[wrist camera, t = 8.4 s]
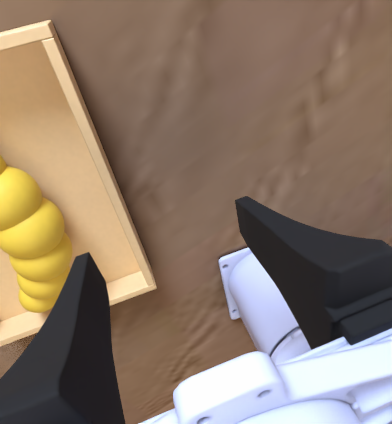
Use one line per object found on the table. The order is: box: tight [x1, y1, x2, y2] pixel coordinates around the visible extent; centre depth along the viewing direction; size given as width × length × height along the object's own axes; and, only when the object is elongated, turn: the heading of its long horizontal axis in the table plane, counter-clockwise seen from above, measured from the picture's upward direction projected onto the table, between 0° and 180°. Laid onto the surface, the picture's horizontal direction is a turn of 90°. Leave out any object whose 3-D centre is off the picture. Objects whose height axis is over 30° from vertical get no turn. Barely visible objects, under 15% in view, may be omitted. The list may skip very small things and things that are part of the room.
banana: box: [0, 155, 73, 313], centre depth 20 cm, size 16×6×4 cm, turn 11°
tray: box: [0, 20, 157, 346], centre depth 21 cm, size 19×13×2 cm
